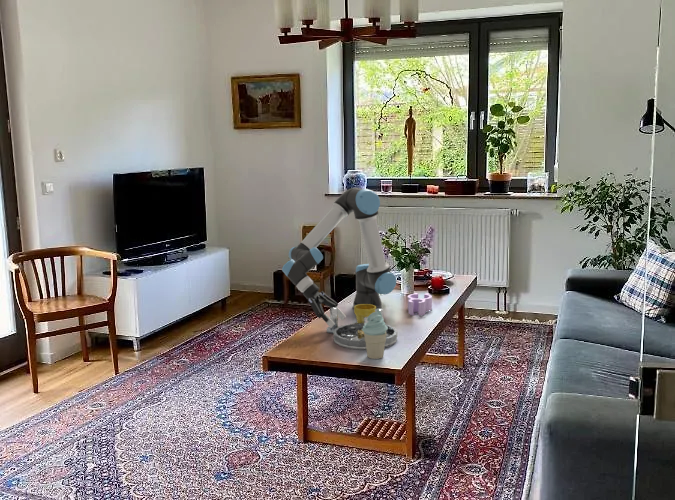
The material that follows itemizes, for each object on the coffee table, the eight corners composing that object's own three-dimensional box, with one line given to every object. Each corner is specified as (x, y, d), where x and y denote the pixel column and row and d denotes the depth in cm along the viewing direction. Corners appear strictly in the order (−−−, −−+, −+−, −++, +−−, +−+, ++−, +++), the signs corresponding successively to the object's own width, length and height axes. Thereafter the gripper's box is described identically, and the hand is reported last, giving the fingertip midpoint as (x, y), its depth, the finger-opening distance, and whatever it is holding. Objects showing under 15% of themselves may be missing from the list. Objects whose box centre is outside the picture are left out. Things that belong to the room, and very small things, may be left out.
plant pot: (378, 323, 321) (378, 304, 319) (373, 330, 311) (373, 309, 309) (357, 322, 323) (357, 303, 322) (352, 328, 314) (351, 308, 312)
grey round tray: (347, 327, 315) (346, 302, 313) (405, 333, 305) (405, 307, 302) (323, 345, 290) (322, 318, 288) (385, 352, 279) (385, 324, 277)
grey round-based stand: (330, 328, 315) (329, 305, 313) (344, 329, 312) (343, 307, 310) (324, 332, 309) (323, 309, 307) (338, 334, 306) (337, 311, 304)
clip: (428, 316, 332) (428, 303, 331) (403, 315, 336) (403, 301, 334) (433, 306, 351) (433, 293, 350) (410, 305, 355) (410, 292, 353)
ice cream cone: (357, 357, 274) (356, 310, 271) (375, 350, 282) (375, 304, 278) (375, 362, 267) (375, 314, 264) (394, 355, 275) (393, 308, 271)
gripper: (314, 287, 325) (343, 320, 321) (291, 299, 302) (322, 334, 299) (323, 277, 322) (353, 310, 318) (301, 288, 299) (333, 324, 296)
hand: (338, 322), depth 309 cm, fingers open, 12 cm apart
